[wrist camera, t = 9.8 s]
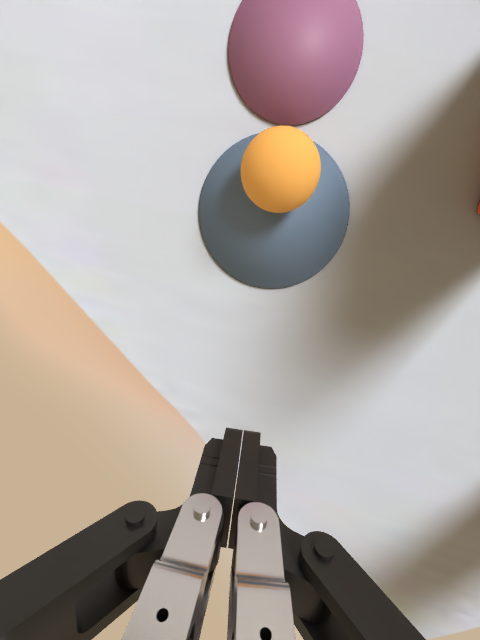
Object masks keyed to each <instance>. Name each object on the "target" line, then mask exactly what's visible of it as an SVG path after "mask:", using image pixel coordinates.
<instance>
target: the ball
mask: <svg viewBox="0 0 480 640" xmlns="http://www.w3.org/2000/svg"><path fill="white" fill-rule="evenodd" d="M320 173H321V161H320V156H319V152H318V150H317V148H316V145H315V144H314V142H313V141H312V140H311V138H310V137H309V136H308V135H307V134H305V133H304V132H303V131H301V130H299V129H297V128H295V127H291V126H285V125H283V126H274V127H271V128H268V129H266V130H264V131H262V132H261V133H259V134H258V135H257V136H256V137H255V138H254V139H253V140H252V141H251V142H250V143H249V145H248V147H247V148H246V150H245V152H244V155H243V158H242V162H241V181H242V184H243V188H244V190H245V192H246V194H247V196H248V197H249V198H250V200H251V201H252V202H253V203H254V204H255V205H257V206H258V207H260V208H261V209H263V210H266V211H269V212H273V213H284V212H289V211H292V210H294V209H296V208H298V207H300V206H301V205H303V204H304V203H305V202H306V201H307V200H308V199H309V198H310V197H311V196H312V194H313V192H314V191H315V189H316V187H317V185H318V182H319V178H320Z"/></svg>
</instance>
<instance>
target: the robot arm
mask: <svg viewBox="0 0 480 640" xmlns="http://www.w3.org/2000/svg"><path fill="white" fill-rule="evenodd" d="M242 431H243V430H239V429H232V428H226V430H225V435H224V439H223V440H222V439H215V438H212V439H211V440H210V441H209V442H208V443H207V444H206V445H205V447H204V451H203V454H202V457H201V461H200V465H199V468H198V471H197V474H196V478H195V481H194V485H193V488H192V491H191V494H190V497H189V498H188V499H187V500H186V501H185V502H184V503H183V505H181V506H180V507H178V508H176V509H172V510H167V511H159V512H157V511H156V509H155V508H154V506H153V505H151V504H150V503H148V502H145V501H133V502H130V503H127V504H125V505H124V506H122V507H120V508H119V509H117V510H115V511H114V512H112V513H111V514H109V515H107V516H105V517H104V518H102V519H100V520H99V521H97V522H95V523H94V524H92V525H90V526H89V527H87V528H85V529H84V530H82V531H80V532H79V533H77V534H75V535H74V536H72V537H71V538H69V539H67V540H66V541H64V542H62V543H61V544H59V545H57V546H56V547H54V548H52V549H51V550H49V551H47V552H46V553H44V554H43V555H41V556H39V557H37V558H36V559H34V560H32V561H31V562H29V563H27V564H26V565H24V566H22V567H21V568H19V569H17V570H16V571H14V572H13V573H11V574H9V575H8V576H6V577H4V578H3V579H1V580H0V640H91V639H93V638H94V637H95V636H96V635H97V634H99V633H100V632H101V631H102V630H103V629H104V628H106V627H107V626H108V625H109V624H110V623H112V622H113V621H114V620H115V619H116V618H117V617H119V616H120V615H121V614H122V613H123V612H125V611H126V610H127V609H128V608H129V607H130V606H132V605H133V604H134V603H135V602H136V601H137V604H136V606H135V609H134V611H133V613H132V616H131V618H130V621H129V623H128V625H127V628H126V630H125V633H124V635H123V637H122V640H199V638H200V633H201V628H202V624H203V620H204V616H205V612H206V608H207V603H208V599H209V595H210V591H211V586H212V583H213V578H214V574H215V569H216V565H217V563H218V560H219V553H220V548H221V547H225V548H226V546H227V539H228V532H229V525H230V518H231V511H232V504H233V497H234V490H235V483H236V477H237V469H238V462H239V454H240V447H241V439H242ZM228 548H231V549H234V550H233V558H232V566H231V574H230V593H229V614H228V632H227V640H295V630H294V625H295V626H296V628H297V629H298V631H299V633H300V634H301V636H302V637H303V639H304V640H426V639H425V638H424V637H423V636H422V635H421V634H420V633H419V632H418V630H417V629H416V628H415V627H414V626H413V625H412V624H411V623H410V621H409V620H408V619H407V618H406V617H405V616H404V615H403V614H402V613H401V611H400V610H399V609H398V608H397V607H396V606H395V605H394V604H393V602H392V601H391V600H390V599H389V598H388V597H387V596H386V595H385V594H384V592H383V591H382V590H381V589H380V588H379V587H378V586H377V585H376V583H375V582H374V581H373V580H372V579H371V578H370V577H369V576H368V575H367V573H366V572H365V571H364V570H363V569H362V568H361V567H360V566H359V564H358V563H357V562H356V561H355V560H354V559H353V558H352V557H351V555H350V554H349V553H348V552H347V551H346V550H345V549H344V548H343V547H342V545H341V544H340V543H339V542H338V541H337V540H336V539H335V538H333V537H332V536H331V535H329V534H327V533H324V532H319V531H314V532H310V533H308V534H307V535H305V537H304V536H302V535H300V534H298V533H296V532H294V531H292V530H291V529H289V528H288V527H287V526H286V525H285V524H284V523H283V522H282V521H281V519H280V518H279V516H278V513H277V496H276V455H275V453H274V451H273V449H272V447H268V446H261V445H260V433H259V432H252V431H246V430H244V434H243V441H242V449H241V456H240V463H239V470H238V477H237V484H236V492H235V500H234V507H233V514H232V522H231V530H230V538H229V546H228Z"/></svg>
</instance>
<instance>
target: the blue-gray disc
mask: <svg viewBox="0 0 480 640" xmlns="http://www.w3.org/2000/svg"><path fill="white" fill-rule="evenodd" d="M257 135H258V134H255V135H252V136H249V137H247V138H245V139H242V140H241V141H239V142H237V143H236V144H234V145H233V146H232V147H230V148H229V149H228V150H227V151H225V152H224V153H223V154H222V156H221V157H220V158H219V159H218V160H217V161H216V163H215V164H214V165H213V167H212V168H211V170H210V172H209V174H208V176H207V177H206V180H205V183H204V185H203V188H202V192H201V196H200V203H199V221H200V228H201V232H202V236H203V239H204V242H205V244H206V247H207V248H208V250H209V252H210V254H211V255H212V257H213V258H214V260H215V261H216V262H217V263H218V264H219V266H220V267H221V268H222V269H223V270H225V271H226V272H227V273H228V274H229V275H231V276H232V277H234V278H235V279H237V280H239V281H241V282H243V283H245V284H248V285H251V286H255V287H260V288H270V289H274V288H284V287H289V286H293V285H296V284H299V283H301V282H303V281H305V280H307V279H309V278H311V277H312V276H314V275H315V274H317V273H318V272H319V271H320V270H321V269H323V268H324V267H325V266H326V265H327V264H328V262H329V261H330V260H331V259H332V258H333V256H334V255H335V254H336V252H337V250H338V248H339V247H340V245H341V243H342V240H343V238H344V236H345V233H346V229H347V225H348V219H349V196H348V190H347V186H346V182H345V180H344V177H343V175H342V172H341V171H340V169H339V167H338V165H337V164H336V162H335V161H334V160H333V158H332V157H331V156H330V155H329V154H328V153H327V152H326V151H325V150H324V149H323V148H322V147H321V146H319V145H318V144H316V143H315V142H314V141H313V142H314V144H315V145H316V148H317V150H318V152H319V156H320V161H321V173H320V178H319V182H318V185H317V187H316V189H315V191H314V192H313V194H312V196H311V197H310V198H309V199H308V200H307V201H306V202H305V203H304V204H303V205H301V206H300V207H298V208H296V209H294V210H292V211H289V212H284V213H273V212H269V211H266V210H263V209H261V208H260V207H258V206H257V205H255V204H254V203H253V202H252V201H251V200H250V198H249V197H248V196H247V194H246V192H245V190H244V188H243V184H242V181H241V162H242V158H243V155H244V152H245V150H246V148H247V147H248V145H249V143H250V142H251V141H252V140H253V139H254V138H255V137H256V136H257Z"/></svg>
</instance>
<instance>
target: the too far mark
mask: <svg viewBox="0 0 480 640" xmlns="http://www.w3.org/2000/svg"><path fill="white" fill-rule="evenodd" d="M362 49H363V23H362V18H361V13H360V10H359V7H358V4H357V1H356V0H242V2H241V4H240V6H239V8H238V10H237V12H236V14H235V17H234V20H233V23H232V27H231V31H230V37H229V48H228V55H229V65H230V70H231V75H232V78H233V81H234V84H235V86H236V88H237V91H238V93H239V94H240V96H241V98H242V99H243V101H244V102H245V103H246V104H247V106H248V107H249V108H250V109H251V110H252V111H254V112H255V113H256V114H257V115H259V116H260V117H262V118H264V119H266V120H268V121H270V122H273V123H276V124H281V125H298V124H303V123H307V122H310V121H312V120H315V119H317V118H319V117H320V116H322V115H324V114H325V113H327V112H328V111H329V110H331V109H332V108H333V107H334V106H335V105H336V104H337V103H338V102H339V101H340V100H341V98H342V97H343V96H344V95H345V93H346V92H347V90H348V88H349V87H350V85H351V84H352V81H353V79H354V77H355V75H356V73H357V70H358V67H359V64H360V60H361V56H362Z"/></svg>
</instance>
